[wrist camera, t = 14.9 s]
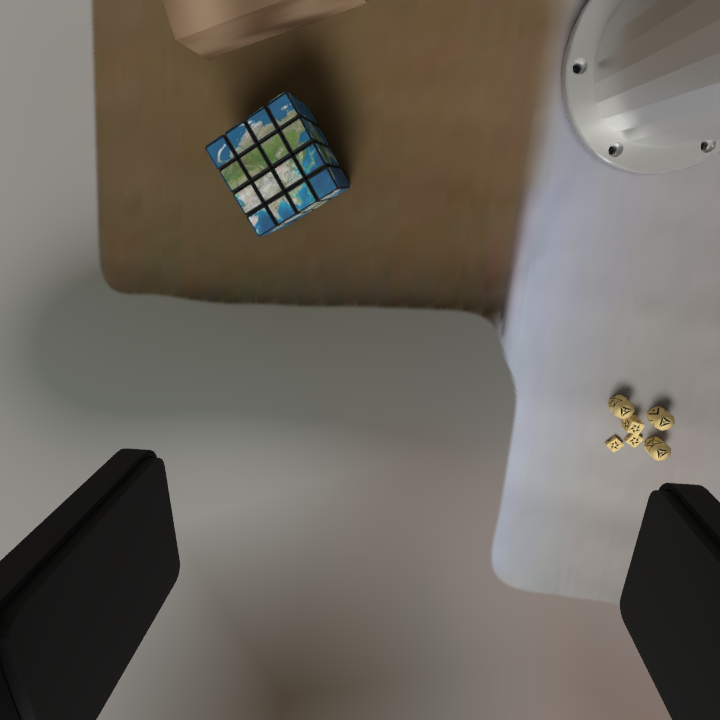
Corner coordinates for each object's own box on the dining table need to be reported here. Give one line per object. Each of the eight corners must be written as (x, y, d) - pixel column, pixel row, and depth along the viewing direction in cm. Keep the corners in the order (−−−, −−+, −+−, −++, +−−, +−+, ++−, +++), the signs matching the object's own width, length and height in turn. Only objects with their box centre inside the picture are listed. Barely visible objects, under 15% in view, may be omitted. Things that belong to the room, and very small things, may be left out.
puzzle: (351, 187, 33) (339, 188, 28) (282, 229, 35) (257, 238, 29) (307, 105, 32) (286, 88, 26) (237, 152, 33) (202, 147, 28)
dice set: (607, 390, 37) (617, 400, 36) (673, 395, 37) (686, 406, 35) (592, 444, 39) (601, 457, 38) (655, 450, 39) (667, 463, 37)
